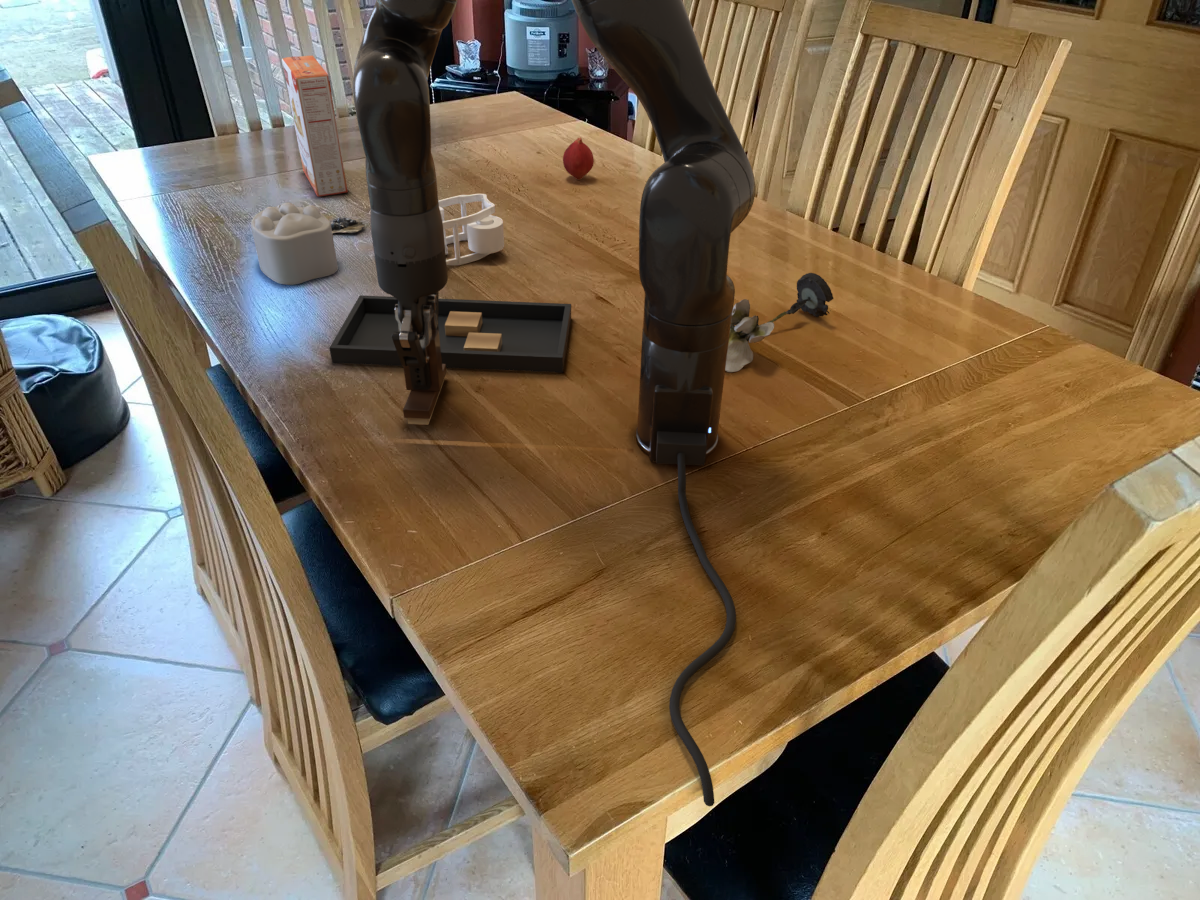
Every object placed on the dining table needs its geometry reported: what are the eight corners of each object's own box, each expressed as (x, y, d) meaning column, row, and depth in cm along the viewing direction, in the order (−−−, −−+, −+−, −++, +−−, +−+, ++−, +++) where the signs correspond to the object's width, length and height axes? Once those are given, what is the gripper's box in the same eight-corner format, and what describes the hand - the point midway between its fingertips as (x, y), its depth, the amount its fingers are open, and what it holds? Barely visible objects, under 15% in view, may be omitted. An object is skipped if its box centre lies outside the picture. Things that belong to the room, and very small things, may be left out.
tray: (562, 376, 114) (562, 357, 112) (332, 366, 114) (329, 347, 113) (571, 321, 125) (571, 303, 124) (362, 313, 126) (359, 295, 124)
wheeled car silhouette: (412, 289, 132) (407, 243, 128) (374, 264, 139) (368, 219, 134) (520, 254, 143) (518, 210, 139) (479, 232, 150) (477, 189, 145)
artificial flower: (839, 333, 127) (861, 281, 119) (719, 397, 118) (735, 345, 110) (796, 295, 131) (815, 242, 123) (677, 354, 122) (690, 301, 114)
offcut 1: (478, 337, 120) (477, 326, 119) (445, 335, 120) (444, 325, 119) (482, 322, 123) (481, 312, 122) (450, 321, 123) (450, 311, 122)
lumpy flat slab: (368, 234, 148) (366, 223, 147) (319, 240, 146) (317, 229, 145) (361, 219, 153) (359, 208, 152) (313, 225, 151) (311, 214, 150)
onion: (558, 182, 169) (558, 140, 165) (568, 172, 174) (568, 130, 169) (588, 186, 168) (588, 143, 163) (597, 176, 172) (597, 134, 168)
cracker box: (301, 173, 171) (280, 56, 158) (333, 169, 173) (314, 53, 160) (315, 198, 160) (293, 75, 148) (348, 193, 162) (330, 72, 150)
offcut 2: (498, 359, 115) (497, 348, 115) (464, 358, 116) (463, 347, 115) (502, 344, 119) (501, 333, 118) (469, 342, 119) (468, 332, 118)
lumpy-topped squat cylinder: (281, 288, 132) (269, 233, 126) (247, 258, 140) (235, 205, 134) (346, 270, 137) (337, 216, 132) (310, 242, 145) (300, 190, 140)
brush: (435, 430, 104) (427, 357, 98) (401, 428, 104) (391, 356, 98) (451, 382, 112) (445, 313, 106) (419, 380, 112) (411, 311, 106)
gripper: (389, 217, 101) (406, 350, 112) (357, 270, 90) (378, 412, 100) (455, 220, 101) (466, 353, 111) (430, 273, 90) (445, 415, 100)
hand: (424, 380), depth 106 cm, fingers closed on brush, 2 cm apart
